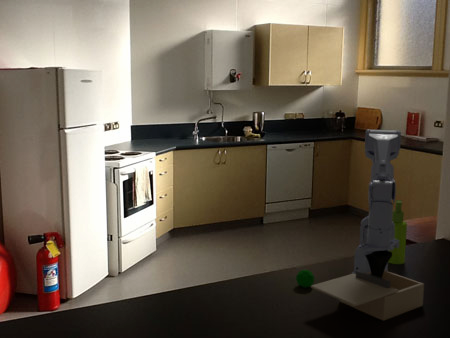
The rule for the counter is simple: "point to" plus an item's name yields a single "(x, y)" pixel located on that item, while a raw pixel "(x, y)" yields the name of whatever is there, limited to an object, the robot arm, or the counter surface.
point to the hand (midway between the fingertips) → (376, 278)
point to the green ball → (305, 278)
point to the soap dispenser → (399, 235)
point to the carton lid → (356, 288)
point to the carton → (394, 298)
